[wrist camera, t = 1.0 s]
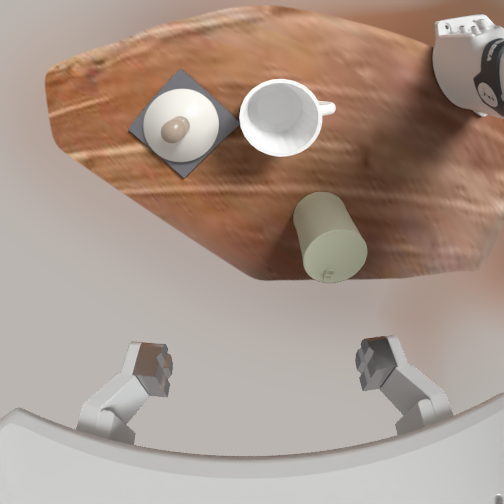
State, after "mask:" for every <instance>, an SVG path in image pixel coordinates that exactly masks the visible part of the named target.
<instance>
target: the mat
mask: <svg viewBox="0 0 504 504" xmlns="http://www.w3.org/2000/svg"><path fill="white" fill-rule="evenodd" d="M174 89H192V90H195V91H198V92H200V93H202V94H203V95H205V96H206V97H207V98H208V99H209V100H210V101H211V102H212V103H213V105H214V106H215V108H216V110H217V113H218V117H219V131H218V135H217V138H216V140H215V142H214V143H213V145H212V146H211V148H210V149H209V150H208V151H207V152H206V153H205V154H204V155H202V156H201V157H199V158H197V159H195V160H192V161H188V162H174V161H169V160H167V159H164V158H162V157H161V156H159V155H158V154H157V155H158V156H159V157H160V158H162V159H163V160H164V161H165V162H166V163H167V164H168V165H170V166H171V167H172V168H173V169H174V170H175V171H176V172H178V173H179V174H180V175H181V176H182V177H183V178H185V177H186V176H187V175H188V174H189V173H190V172H191V171H192V170H193V169H194V168H195V167H196V166H197V165H198V164H199V163H200V162H201V161H202V160H203V159H204V158H205V157H206V156H207V155H208V154H209V153H210V152H211V151H212V150H213V149H214V148H215V147H216V146H217V145H218V144H219V143H221V142H222V141H223V140H224V139H225V138H226V137H227V136H228V135H229V134H230V133H231V132H232V131H233V130H235V129H236V128H237V127H238V126H239V125H240V122H239V121H238V120H237V119H236V118H235V117H234V116H233V115H232V114H231V113H230V112H229V111H228V110H227V109H226V108H225V107H224V106H223V105H221V104H220V103H219V102H218V101H217V100H216V99H215V98H214V97H213V96H212V95H211V94H210V93H208V92H207V91H206V90H205V89H204V88H203V87H202V86H201V85H199V84H198V83H197V82H196V81H195V80H194V79H193V78H191V77H190V76H189V75H188V74H187V73H186V72H184V71H183V70H182V69H179V70H178V71H177V72H176V74H175V75H174V76H173V77H172V78H171V79H170V80H169V81H168V82H167V83H166V84H165V85H164V86H163V88H162V89H161V90H160V91H159V92H158V93H157V94H156V95H155V97H154V98H153V99H152V100H151V101H150V103H149V104H148V105H147V106H146V107H145V109H144V110H143V111H142V112H141V113H140V115H139V116H138V117H137V118H136V120H135V121H134V122H133V124H132V125H131V126H130V127H129V129H128V130H129V131H130V132H132V133H133V134H134V135H135V136H136V137H137V138H139V139H140V140H141V141H142V142H143V143H144V144H145V145H147V146H148V147H149V148H150V149H151V147H150V146H149V144H148V143H147V140H146V138H145V135H144V129H143V123H144V117H145V114H146V111H147V109H148V108H149V106H150V105H151V103H152V102H153V101H154V100H155V99H156V98H157V97H158V96H160V95H162V94H163V93H165V92H168V91H171V90H174ZM151 150H152V149H151ZM152 151H153V150H152Z"/></svg>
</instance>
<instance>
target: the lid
mask: <svg viewBox="0 0 504 504" xmlns="http://www.w3.org/2000/svg"><path fill="white" fill-rule="evenodd" d="M143 129H144V135H145V138H146V140H147V143H148V144H149V146H150V147H151V149H152V150H153V151H154V152H155V153H156V154H158V155H159V156H161V157H162V158H164V159H167V160H169V161H174V162H188V161H192V160H195V159H197V158H199V157H201V156H202V155H204V154H205V153H206V152H207V151H208V150H209V149H210V148H211V146H212V145H213V143H214V142H215V140H216V138H217V135H218V131H219V117H218V113H217V110H216V108H215V106H214V105H213V103H212V102H211V101H210V100H209V99H208V98H207V97H206V96H205V95H203V94H202V93H200V92H198V91H195V90H192V89H174V90H171V91H168V92H165V93H163V94H162V95H160V96H158V97H157V98H156V99H155V100H154V101H153V102H152V103H151V105H150V106H149V108H148V109H147V111H146V114H145V117H144V123H143Z"/></svg>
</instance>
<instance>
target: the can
mask: <svg viewBox="0 0 504 504" xmlns="http://www.w3.org/2000/svg"><path fill="white" fill-rule="evenodd" d="M293 222H294V226H295V228H296V230H297V234H298V239H299V243H300V248H301V253H302V258H303V266H304V269H305V271H306V272H307V274H308V275H309V276H310V277H311V278H313V279H315V280H317V281H319V282H323V283H336V282H341V281H344V280H346V279H348V278H350V277H352V276H353V275H355V274H356V273H357V272H358V271H359V270H360V269H361V268H362V266H363V265H364V263H365V261H366V258H367V246H366V243H365V241H364V239H363V238H362V237H361V235H360V233H359V231H358V230H357V228H356V226H355V224H354V223H353V221H352V219H351V217H350V215H349V214H348V212H347V210H346V207H345V205H344V203H343V201H342V200H341V199H340V198H339V197H338V196H336V195H334V194H332V193H329V192H315V193H312V194H309V195H307V196H306V197H304V198H303V199H302V200H301V201H300V202H299V203H298V204H297V206H296V208H295V210H294V214H293Z"/></svg>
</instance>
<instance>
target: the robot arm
mask: <svg viewBox="0 0 504 504" xmlns="http://www.w3.org/2000/svg"><path fill="white" fill-rule="evenodd" d="M445 26H446V28H445ZM434 32H435V38H436V39H435V45H434V49H433V68H434V73H435V76H436V79H437V82H438V84H439V86H440V88H441V90H442V91H443V93H444V94H445V96H446V97H447V98H448V99H449V100H450V101H451V102H452V103H453V104H455V105H456V106H458V107H461V108H464V109H470V110H473V111H474V112H475V113H476V114H477V115H479V116H482V117H485V116H486V115H487V114H488V115H491V116H495V117H499V118H502V119H504V29H503V28H502V27H500V26H495V25H494V24H493V23H492V21H491V20H490V19H489V18H488V17H487V16H486V15H471V16H464V17H458V18H452V19H447V20H442V21H437V22H435V24H434ZM167 351H168V348H167V346H166V344H154V343H143V342H131V343H130V345H129V347H128V350H127V354H126V357H125V360H124V363H123V367H122V370H121V373H117V374H116V375H115V376H114V377H113V378H112V379H110V380H109V381H108V382H107V383H106V384H105V385H104V386H103V387H102V388H101V389H99V390H98V391H97V392H96V393H95V394H94V395H93V396H92V397H90V398H89V399H88V400H87V401H86V402H85V403H84V404H83V407H82V410H81V414H80V417H79V421H78V425H77V428H76V430H75V429H72V428H69V427H66V426H63V425H61V424H58V423H55V422H53V421H50V420H48V419H45V418H43V417H40V416H38V415H36V414H33V413H31V412H29V411H27V410H25V409H22V408H16V409H14V410H12V411H11V412H10V413H8V414H7V415H5V416H4V417H3V418H1V419H0V504H504V393H501V394H499V395H496V396H494V397H493V398H491V399H489V400H487V401H485V402H483V403H481V404H479V405H477V406H474V407H472V408H470V409H468V410H466V411H464V412H461V413H459V414H457V415H454V416H453V413H452V410H451V408H450V404H449V402H448V399H447V396H446V394H445V392H444V391H443V390H442V389H440V388H439V387H438V386H437V385H436V384H434V383H433V382H432V381H431V380H430V379H429V378H427V377H426V376H425V375H424V374H422V373H421V372H420V371H419V370H418V369H416V368H415V367H414V366H413V365H411V364H410V365H408V362H407V360H406V357H405V355H404V352H403V350H402V347H401V345H400V342H399V340H398V338H397V336H396V335H390V336H381V337H374V338H367V339H364V340H362V342H361V348H360V349H359V350H358V351H357V353H356V360H355V361H356V367H357V370H358V371H359V372H360V373H361V376H360V383H361V386H362V390H363V391H367V390H373V389H379V388H380V390H381V391H382V392H383V394H385V396H386V397H387V398H388V399H389V400H390V401H391V402H392V403H393V404H394V405H395V407H396V408H397V409H398V410H399V411H400V412H401V413H402V414H403V415H404V416H403V417H402V418H401V419H400V420H399V421H398V422H397V423H396V424H395V426H396V430H397V434H398V435H397V436H394V437H390V438H387V439H382V440H378V441H374V442H370V443H365V444H361V445H356V446H350V447H345V448H340V449H334V450H327V451H320V452H311V453H302V454H291V455H278V456H277V455H276V456H215V455H200V454H188V453H180V452H171V451H165V450H158V449H151V448H146V447H141V446H136V445H134V440H135V433H134V431H132V429H130V428H129V427H128V426H127V425H126V424H127V423H128V422H129V420H130V419H131V418H132V417H133V416H134V415H135V413H136V412H137V411H138V410H139V409H140V407H141V406H142V405H143V404H144V403H145V402H146V400H147V399H148V398H149V396H159V397H168V392H169V386H170V383H169V381H168V378H169V377H170V376H171V375H172V368H173V366H172V365H173V363H172V358H171V355H170V354H168V353H167Z"/></svg>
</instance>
